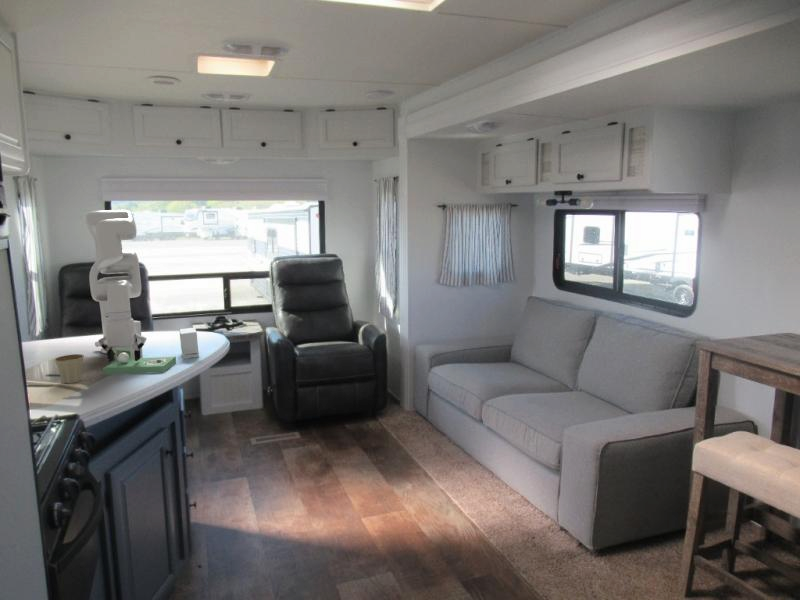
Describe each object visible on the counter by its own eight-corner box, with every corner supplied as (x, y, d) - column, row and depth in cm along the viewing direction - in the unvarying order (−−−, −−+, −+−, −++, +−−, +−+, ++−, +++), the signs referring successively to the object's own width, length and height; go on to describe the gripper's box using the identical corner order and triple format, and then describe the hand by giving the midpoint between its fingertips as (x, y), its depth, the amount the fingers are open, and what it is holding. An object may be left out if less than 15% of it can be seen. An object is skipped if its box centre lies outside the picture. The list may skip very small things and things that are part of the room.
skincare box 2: (181, 353, 255) (179, 328, 254) (197, 351, 258) (195, 327, 256) (182, 359, 246) (180, 333, 244) (199, 357, 248) (197, 331, 247)
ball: (116, 364, 230) (115, 354, 229) (120, 361, 234) (119, 351, 233) (127, 364, 230) (126, 353, 229) (131, 361, 234) (130, 351, 233)
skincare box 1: (115, 360, 246) (111, 322, 244) (128, 356, 252) (124, 319, 250) (132, 361, 243) (128, 323, 241) (144, 357, 249) (140, 320, 247)
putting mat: (103, 374, 225) (102, 368, 225) (118, 364, 239) (118, 358, 239) (164, 372, 226) (163, 366, 226) (176, 362, 240) (175, 356, 239)
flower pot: (66, 386, 211) (63, 362, 210) (51, 382, 216) (48, 359, 215) (92, 379, 219) (89, 355, 218) (77, 376, 224) (74, 353, 223)
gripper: (91, 318, 225) (96, 364, 228) (139, 317, 226) (144, 362, 228) (100, 315, 232) (105, 359, 235) (147, 313, 233) (151, 357, 236)
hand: (124, 360), depth 232 cm, fingers open, 9 cm apart
